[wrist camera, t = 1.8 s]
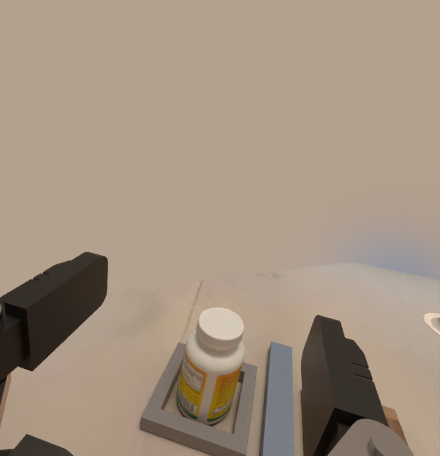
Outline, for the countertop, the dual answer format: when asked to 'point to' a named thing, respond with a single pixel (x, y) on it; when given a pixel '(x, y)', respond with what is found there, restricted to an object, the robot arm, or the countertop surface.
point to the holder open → (192, 430)
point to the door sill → (278, 404)
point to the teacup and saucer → (428, 318)
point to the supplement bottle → (211, 366)
